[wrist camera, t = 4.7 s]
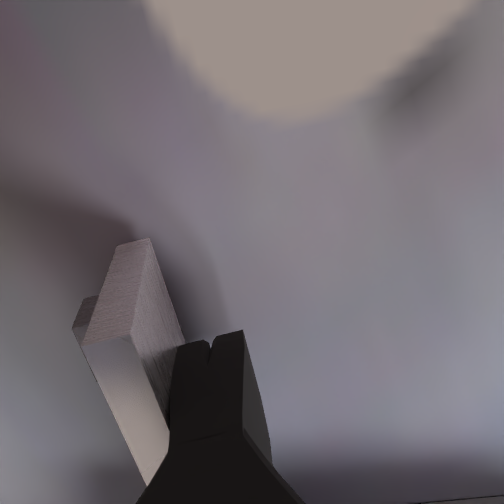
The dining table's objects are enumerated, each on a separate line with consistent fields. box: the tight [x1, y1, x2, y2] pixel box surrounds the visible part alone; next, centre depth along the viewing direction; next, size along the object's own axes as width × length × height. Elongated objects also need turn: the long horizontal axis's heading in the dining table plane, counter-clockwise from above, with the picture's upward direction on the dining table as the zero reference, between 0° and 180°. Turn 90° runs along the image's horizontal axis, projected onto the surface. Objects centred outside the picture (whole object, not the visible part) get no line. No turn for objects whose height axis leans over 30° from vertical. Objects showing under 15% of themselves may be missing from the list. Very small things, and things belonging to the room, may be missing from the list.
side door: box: [72, 238, 186, 486], centre depth 10 cm, size 10×1×4 cm, turn 12°
